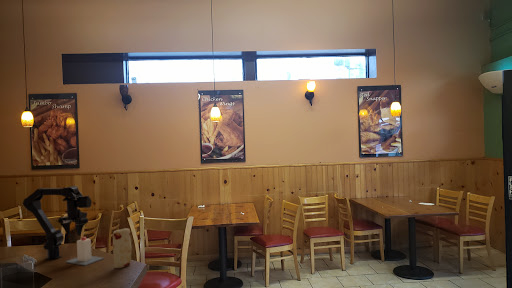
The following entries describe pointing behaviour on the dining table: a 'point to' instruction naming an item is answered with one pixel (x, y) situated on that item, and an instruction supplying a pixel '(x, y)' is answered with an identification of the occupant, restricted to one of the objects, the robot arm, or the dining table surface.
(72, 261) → the placemat
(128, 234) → the food model
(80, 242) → the big red button box
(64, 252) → the dining table surface
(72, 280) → the dining table surface
